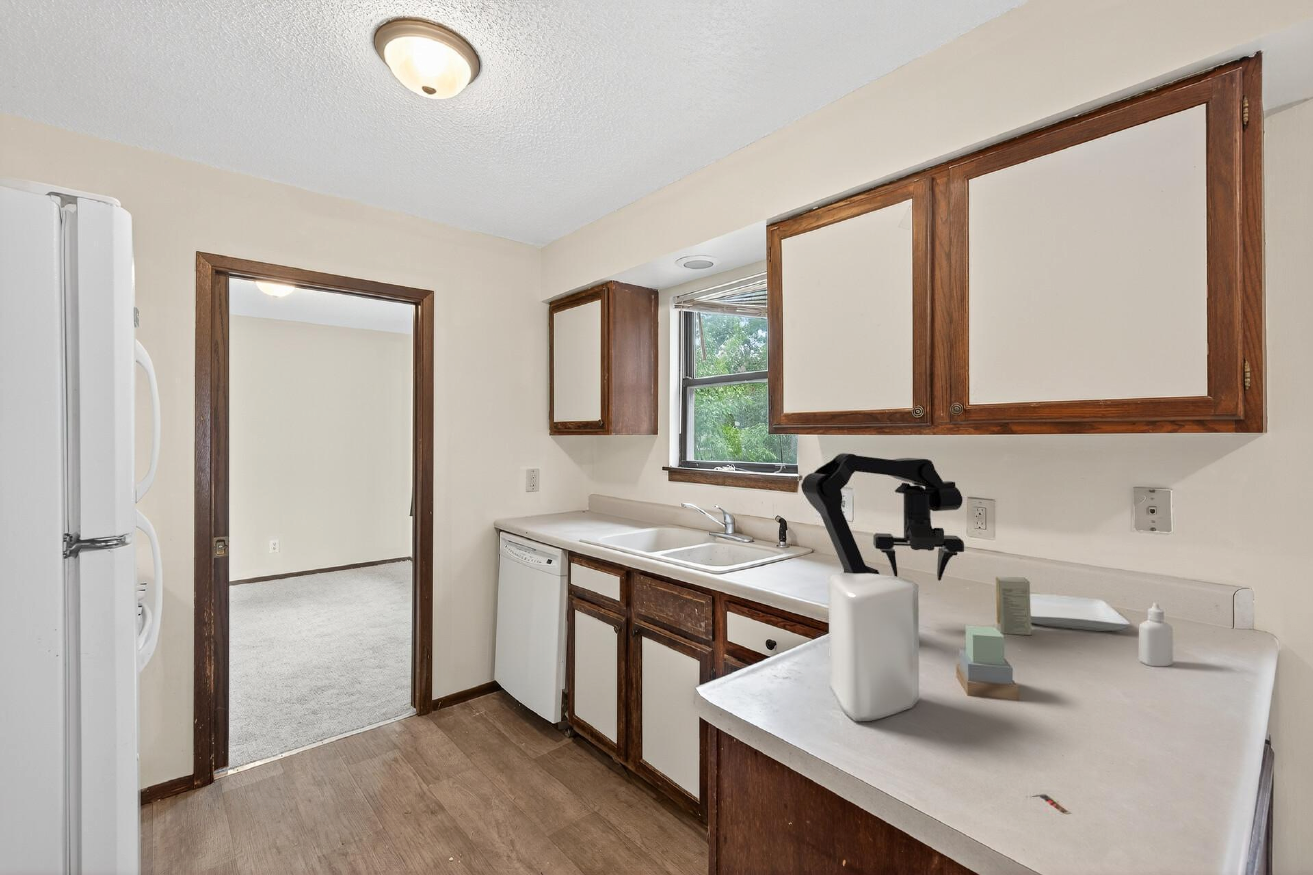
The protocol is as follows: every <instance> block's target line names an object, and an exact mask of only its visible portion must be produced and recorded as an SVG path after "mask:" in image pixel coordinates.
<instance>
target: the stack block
mask: <svg viewBox="0 0 1313 875" xmlns="http://www.w3.org/2000/svg"><path fill="white" fill-rule="evenodd" d="M965 650H966V653H967V654H968V656H969V657H970V659H971V660H972V662H973V663H983V664H996V665H1005V661H1004V658H1005V636H1004V635H1003V633H1001V632H1000V631H999V629H998V628H997V626H996V627H995V626H993V627H991V626H981V625H979V626H977V625H965Z"/></svg>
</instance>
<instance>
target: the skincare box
mask: <svg viewBox="0 0 1313 875" xmlns="http://www.w3.org/2000/svg"><path fill="white" fill-rule="evenodd" d="M1030 584H1031V583H1030V581H1029V580H1028V579H1027V578H1026V577H1018V576H1016V577H1015V576H1014V577H1013V576H1012V577H1011V576H995V591H996V592H995V597H996V598H995V600H996V628H997V630H998V631H999V632H1000V633H1001V634H1009V635H1021V636H1022V635H1024V636H1031V635H1032V622H1031V610H1030V594H1031V587H1030V586H1031V585H1030Z"/></svg>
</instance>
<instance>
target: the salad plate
mask: <svg viewBox="0 0 1313 875" xmlns="http://www.w3.org/2000/svg"><path fill="white" fill-rule="evenodd" d="M1030 610H1031V624H1036V625H1041V626H1045V627H1056V628H1066V629H1073V630H1074V629H1076V630H1084V631H1085V630H1086V631H1095V632H1096V631H1099V632H1109V631H1120V630H1125V629H1127V628H1129V627H1130V626H1131V625H1132V624H1131V622H1130V621H1128V620H1127V619H1126V618H1125V617H1124V616H1122V615H1121V614H1120V613H1119V612H1117V610H1115V609H1114V608H1113V607H1111V606H1110V605H1109V604H1108V603H1107V602H1105V601H1104V600H1102V599H1100V598H1099V599H1097V598H1086V597H1079V596H1077V597H1076V596H1068V595H1058V594H1042V593H1030Z"/></svg>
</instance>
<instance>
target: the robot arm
mask: <svg viewBox="0 0 1313 875" xmlns="http://www.w3.org/2000/svg"><path fill="white" fill-rule="evenodd" d="M855 472H857V473H859V472H860V473H867V474H875V475H884V476H890V477H892V478H894V479H896V480H900V481H903V482H902V483H901V484H900V485H899V486H898V487H897V488H896V489H895V490H894V492H895V493H896V494H897V493H898V494H903V537H894V535H892V534H891V533H883V532H882V533H879V532H878V533H877V532H875V534H874V535H873V538H872V539H873V541H872V542H873V543H872V544H873V546H874V548H875V549H877V550H880V552H881V553H884V554H886V555H885V556H886V557H887V558H888V561H889V564H890V567H891V570H892V573H893V576H896V577H898V565H897V560H896V550H895V549H894V547H896V546H897V547H899V546H900V547H910V548H911V549H912V550H914V551H919V550H921V551H922V550H923V551H926V550H927V551H929V552H932V551H934V550H935V548H938V551H937V553H938V554H937V565H936V566H937V568H936V570H937V571H936V575H937V581H938V582H940V581H941V580H942V577H943V574H944V572H945V569H946V567H947V565H948V562H949V561H950V559H951V558H952V557H953V556H958V553H964V552H965V543H964V542H965V541H963V539H961V538H960V537H959V536H957V535H953V534H952V535H950V534H949V535H948V534H946V535H945V530H944V528H943V527H932V520H931V518H932V517H931V513H932V512H944V511H957V510H959V509H960V508H961V507H962V505H963V498H964V497H963V496H962V494H961V491H960V490H959V488H957V486H956V482H955V481H949V480H946V481H943V479H942V478H941V476H940V475H939V474H938V472H937V470H936V467H935V465H934V463H933V461H932V460H931V459H928V458H917V457H916V458H915V457H902V458H895V459H887V458H878V457H871V456H864V455H857V454H854V453H848V452H847V453H845V452H843V453H839V454H837V455H836V456H835V457H834V458H833V459H832V460H830V461H829V462H826V463H825V464H824V465H821V466H820V467H818V468H817V469H816V470H815V471H814V472H811V473H808V474H807V475H806V476H804V478H803V479H802V483H801V485H800V486H801V491H802V494H803V495H804V496H805V498H806V499H807V501H808V502H809V504H810V505H811V506H812V507H813V508H814V509H815V510H816V511H817V513H818V514H820V517H821V519H822V521H823V523H824V527H825V529H826V530H827V533H828V535H829V538H830V541H831V542H832V545H833V546H834V549H835V551H836V554H837V556H838V559H839V561H840V564H841V565H842V569H843V573H854V574H863V573H871V574H880V571H879V570H878V569H876V568H873V567H870V566H869V565H866V564H865V561H864V559H863V556H862V554H861V552H860V549H859V547H858V545H857V542H856V540H855V537H854V535H853V532H852V530H851V528H850V526H849V523H848V521H847V518H846V516H845V514H844V512H843V511H844V510H843V509H842V505H843V492H842V489H843V488H844V487H846V485H848V483H849V482H850V479H851V477H852V476H853V474H854V473H855ZM910 483H911V484H913V485H910ZM931 511H932V512H931Z"/></svg>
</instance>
